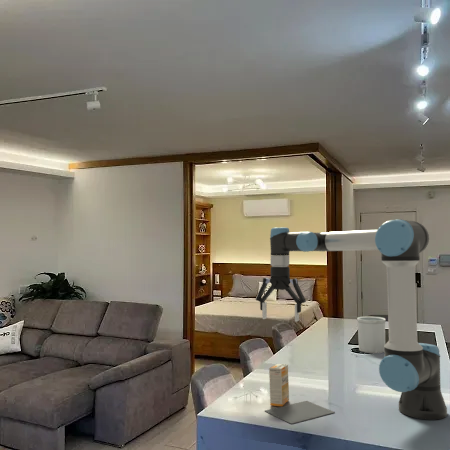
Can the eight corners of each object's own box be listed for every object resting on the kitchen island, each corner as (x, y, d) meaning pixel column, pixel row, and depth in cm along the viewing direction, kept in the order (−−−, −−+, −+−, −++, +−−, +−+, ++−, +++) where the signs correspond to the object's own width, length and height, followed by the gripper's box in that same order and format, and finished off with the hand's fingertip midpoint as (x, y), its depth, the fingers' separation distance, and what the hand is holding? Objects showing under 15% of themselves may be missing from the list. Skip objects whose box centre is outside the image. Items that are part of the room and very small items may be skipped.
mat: (334, 412, 156) (334, 412, 156) (291, 424, 146) (291, 423, 146) (306, 401, 168) (306, 400, 168) (264, 411, 158) (264, 410, 158)
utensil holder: (383, 354, 242) (382, 321, 242) (354, 351, 249) (354, 319, 250) (388, 349, 254) (387, 317, 255) (361, 346, 262) (360, 315, 263)
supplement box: (283, 407, 161) (281, 368, 162) (269, 405, 163) (268, 367, 164) (289, 400, 168) (288, 363, 169) (277, 399, 170) (276, 363, 171)
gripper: (313, 266, 181) (313, 320, 180) (255, 265, 193) (255, 316, 192) (307, 267, 175) (308, 323, 174) (247, 266, 186) (247, 318, 185)
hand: (280, 319), depth 183 cm, fingers open, 13 cm apart
